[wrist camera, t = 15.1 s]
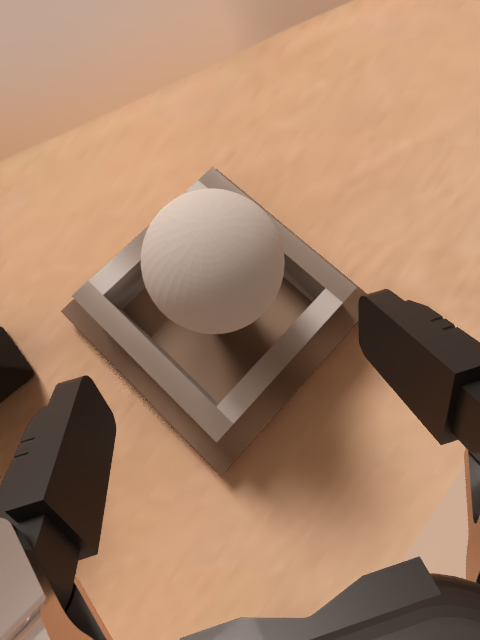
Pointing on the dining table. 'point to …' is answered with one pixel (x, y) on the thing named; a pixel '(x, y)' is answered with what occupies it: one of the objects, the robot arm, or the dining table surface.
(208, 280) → the light bulb
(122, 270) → the frame
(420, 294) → the dining table surface
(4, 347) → the battery
